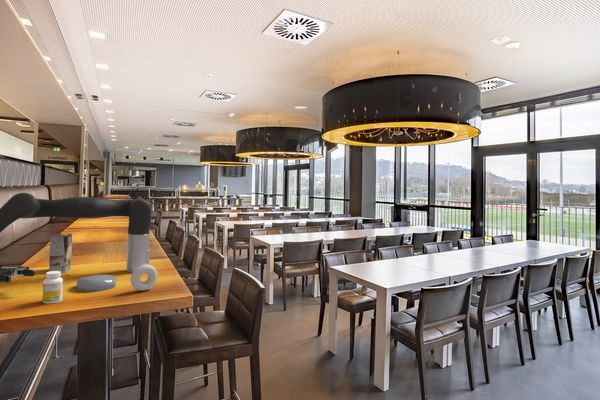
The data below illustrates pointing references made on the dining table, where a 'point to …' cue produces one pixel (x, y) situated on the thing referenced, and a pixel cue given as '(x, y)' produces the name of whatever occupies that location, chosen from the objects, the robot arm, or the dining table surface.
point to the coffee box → (60, 252)
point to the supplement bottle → (52, 287)
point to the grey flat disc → (96, 283)
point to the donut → (137, 274)
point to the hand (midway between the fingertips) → (22, 276)
